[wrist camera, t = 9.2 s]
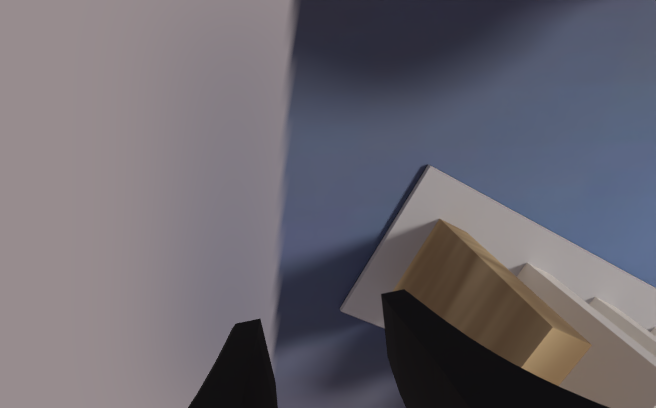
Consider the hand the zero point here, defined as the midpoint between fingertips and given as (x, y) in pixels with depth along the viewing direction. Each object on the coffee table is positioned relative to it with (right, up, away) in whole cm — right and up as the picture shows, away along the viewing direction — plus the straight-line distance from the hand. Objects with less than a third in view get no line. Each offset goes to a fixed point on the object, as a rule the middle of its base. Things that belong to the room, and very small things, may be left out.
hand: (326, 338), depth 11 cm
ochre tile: (+5, 0, +12) cm, 13 cm away
